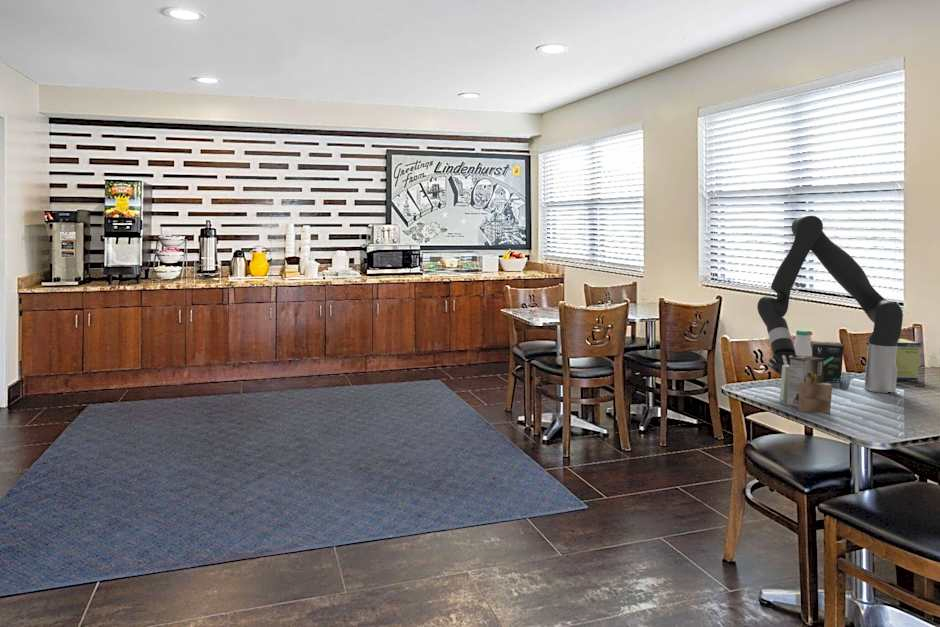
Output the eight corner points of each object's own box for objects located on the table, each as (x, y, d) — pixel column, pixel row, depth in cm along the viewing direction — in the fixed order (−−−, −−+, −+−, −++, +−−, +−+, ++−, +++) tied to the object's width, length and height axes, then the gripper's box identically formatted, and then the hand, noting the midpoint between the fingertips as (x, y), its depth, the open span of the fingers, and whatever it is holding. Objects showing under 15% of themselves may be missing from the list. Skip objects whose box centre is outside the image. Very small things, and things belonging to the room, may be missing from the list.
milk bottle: (805, 380, 283) (809, 329, 280) (813, 384, 275) (817, 332, 273) (785, 379, 284) (789, 328, 281) (792, 383, 276) (796, 331, 274)
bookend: (803, 399, 248) (806, 365, 247) (807, 401, 245) (809, 367, 244) (779, 399, 249) (782, 364, 247) (783, 401, 246) (785, 366, 244)
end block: (825, 410, 234) (828, 383, 233) (830, 412, 231) (832, 385, 230) (797, 409, 235) (799, 382, 234) (801, 411, 232) (803, 384, 231)
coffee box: (804, 401, 246) (808, 355, 244) (821, 405, 240) (825, 358, 238) (785, 404, 242) (789, 356, 240) (802, 408, 236) (806, 360, 234)
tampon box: (837, 378, 287) (840, 342, 286) (841, 383, 279) (844, 345, 277) (807, 376, 291) (810, 340, 289) (810, 380, 282) (813, 343, 280)
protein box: (918, 381, 285) (922, 342, 283) (878, 380, 285) (882, 341, 283) (902, 376, 295) (906, 338, 293) (864, 375, 295) (867, 337, 293)
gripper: (765, 336, 257) (775, 377, 246) (803, 337, 256) (815, 378, 245) (759, 348, 263) (769, 389, 252) (796, 349, 262) (807, 390, 251)
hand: (791, 383), depth 249 cm, fingers closed
